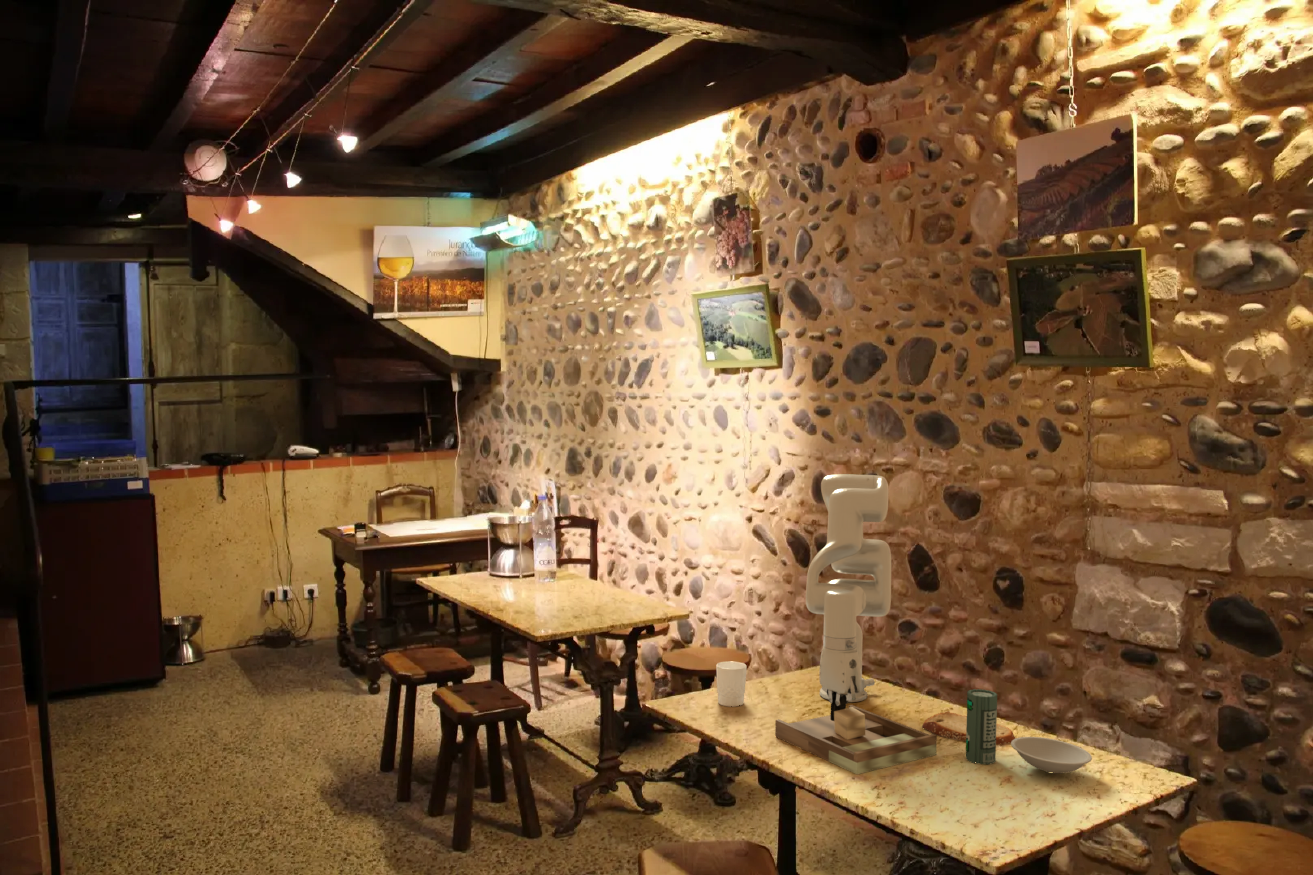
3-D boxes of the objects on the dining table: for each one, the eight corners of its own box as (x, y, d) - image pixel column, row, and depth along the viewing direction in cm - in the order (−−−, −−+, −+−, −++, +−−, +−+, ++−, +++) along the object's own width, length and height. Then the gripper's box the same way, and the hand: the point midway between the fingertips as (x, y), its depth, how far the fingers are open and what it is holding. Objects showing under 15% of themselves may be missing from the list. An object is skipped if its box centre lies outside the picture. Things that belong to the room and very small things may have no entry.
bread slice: (1022, 743, 246) (1022, 727, 246) (953, 749, 242) (953, 733, 241) (980, 720, 263) (980, 705, 263) (915, 725, 259) (915, 710, 259)
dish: (994, 764, 231) (995, 742, 231) (1039, 754, 238) (1040, 732, 238) (1061, 792, 215) (1061, 768, 215) (1107, 779, 223) (1107, 756, 222)
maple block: (852, 727, 245) (852, 706, 244) (865, 734, 240) (864, 714, 240) (834, 731, 243) (834, 711, 242) (847, 739, 238) (846, 718, 238)
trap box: (851, 720, 260) (851, 702, 260) (936, 754, 237) (936, 735, 236) (775, 736, 248) (775, 717, 248) (856, 774, 224) (857, 753, 224)
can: (979, 752, 238) (980, 687, 238) (1000, 761, 233) (1002, 694, 232) (960, 757, 235) (962, 691, 234) (981, 765, 230) (983, 698, 229)
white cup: (710, 700, 276) (711, 663, 276) (736, 697, 279) (737, 660, 279) (724, 708, 269) (725, 670, 268) (751, 705, 272) (752, 667, 272)
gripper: (873, 647, 241) (871, 726, 241) (831, 634, 254) (829, 709, 254) (848, 651, 237) (846, 731, 238) (806, 638, 250) (805, 714, 250)
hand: (837, 720), depth 246 cm, fingers closed
